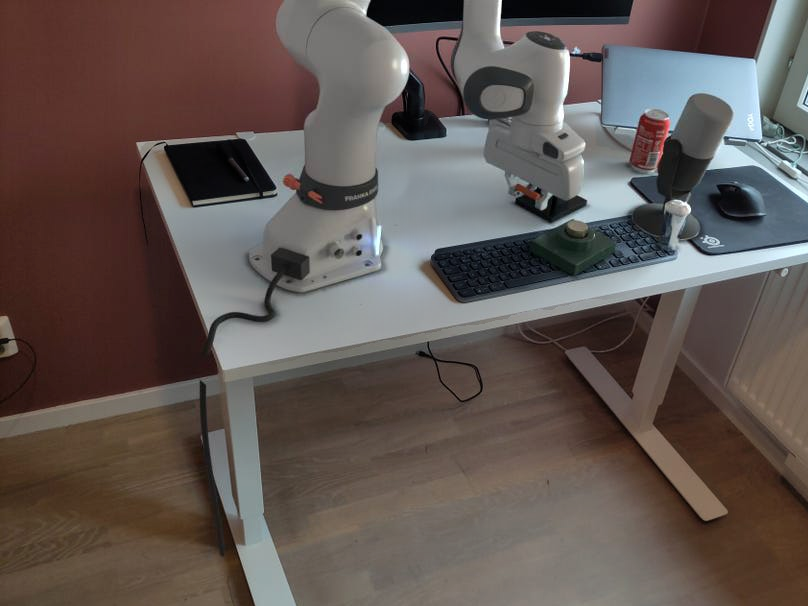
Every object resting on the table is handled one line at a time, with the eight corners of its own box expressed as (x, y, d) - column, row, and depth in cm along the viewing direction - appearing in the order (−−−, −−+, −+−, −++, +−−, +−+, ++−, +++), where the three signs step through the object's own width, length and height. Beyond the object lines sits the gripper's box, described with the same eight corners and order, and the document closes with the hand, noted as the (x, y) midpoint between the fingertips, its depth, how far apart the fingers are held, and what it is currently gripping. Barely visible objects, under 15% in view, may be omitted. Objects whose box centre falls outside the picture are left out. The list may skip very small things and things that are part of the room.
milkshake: (686, 247, 152) (701, 198, 145) (669, 256, 149) (683, 207, 142) (666, 236, 154) (680, 188, 148) (649, 244, 151) (662, 196, 145)
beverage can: (655, 162, 178) (669, 109, 170) (659, 176, 173) (674, 121, 165) (626, 159, 178) (639, 105, 170) (630, 172, 173) (643, 118, 165)
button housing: (573, 276, 140) (577, 256, 138) (529, 250, 145) (532, 231, 143) (614, 252, 148) (619, 233, 145) (570, 229, 152) (574, 210, 150)
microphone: (671, 248, 151) (710, 118, 135) (618, 216, 158) (649, 89, 142) (712, 228, 158) (754, 103, 142) (660, 199, 165) (694, 76, 149)
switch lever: (537, 203, 150) (534, 196, 148) (517, 192, 152) (513, 185, 150) (578, 149, 151) (575, 142, 149) (556, 139, 153) (553, 132, 151)
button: (577, 242, 142) (579, 233, 141) (561, 233, 144) (563, 224, 143) (590, 235, 144) (592, 226, 143) (573, 226, 146) (575, 217, 145)
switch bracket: (550, 223, 153) (563, 155, 144) (514, 203, 157) (524, 136, 149) (586, 205, 160) (600, 139, 151) (550, 187, 164) (562, 121, 155)
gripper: (478, 115, 146) (473, 185, 155) (571, 157, 136) (559, 229, 145) (502, 105, 149) (496, 174, 158) (593, 145, 140) (581, 216, 149)
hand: (527, 201), depth 152 cm, fingers closed on switch lever, 5 cm apart
